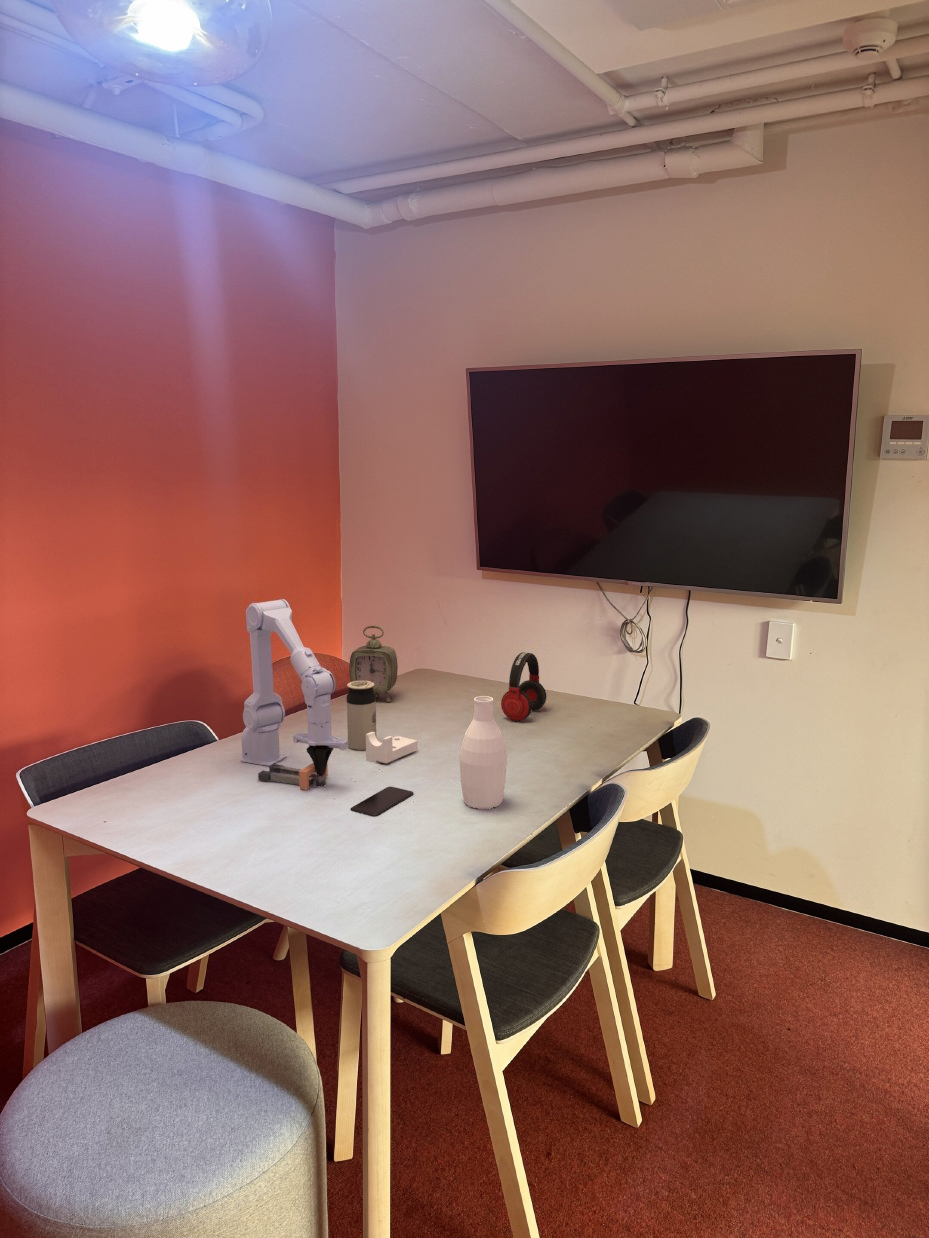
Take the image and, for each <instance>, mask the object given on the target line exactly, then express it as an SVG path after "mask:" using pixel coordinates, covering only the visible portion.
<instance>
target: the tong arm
mask: <svg viewBox="0 0 929 1238" xmlns="http://www.w3.org/2000/svg"><path fill="white" fill-rule="evenodd" d="M257 779H258V781H264V782H276V783H285V784H292V785H296V786H300V784H299V776H297V775H290V774H282V773H275V772H270V771H268V770H261V771H259V772H258V773H257ZM314 784H315V782H314V780H313V778H311V777H309V787H312V786H313V785H314Z"/></svg>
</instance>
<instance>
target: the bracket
mask: <svg viewBox="0 0 929 1238" xmlns="http://www.w3.org/2000/svg"><path fill="white" fill-rule="evenodd" d="M418 750H419V749H418V740H416V739H412V738H407V737H404V736H400V735H396V736H394V737H393V736H391V735H389V736H386V737H384V738H382V742H380V741H379V740H378V739H377V735H376V736H375V732H370V733H368V734H366V750H365V756H366V757H365V758H366V761H367V760H368V762H371V763H374V764H377V763H379V762H380V763H383V764H388V763H391V762H393V761H396V760H397V759H399V758H402V757H404V756H407V755H409V754H411V753H414V752H415V751H418Z"/></svg>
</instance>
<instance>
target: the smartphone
mask: <svg viewBox="0 0 929 1238" xmlns="http://www.w3.org/2000/svg"><path fill="white" fill-rule="evenodd" d="M412 796H414V791H411V790H409V789H404V788H400V787H395V786H391V785H390V786H386V787H385V788H383V789H380V790H379V791H378V792H376V793H374V794H372V795H371V796H369V797H367V798H366V799H363V800H362V801H361V802H358V803H357V804H355V805H353V806H351V807H350V811H351V812H354V813H357V814H363V815H365V816H369V817H373V818H376V817H379V816H381V815H383V814H384V813H386V812H388V811H389V810H391V809H393V808H394V807H396V806H398V805H399V804H401V803H403V802H404V801H406V800H408V799H410V798H412Z"/></svg>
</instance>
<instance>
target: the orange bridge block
mask: <svg viewBox="0 0 929 1238" xmlns="http://www.w3.org/2000/svg"><path fill="white" fill-rule="evenodd" d="M328 765H329V764H327V767H326V772H325V774H326V778H328V777H329V769H328ZM315 772H316V769H315V766H314V763H313V762H312V763H310V764H309V765H307V766H305V767H303V768H302V770H300V771H299V784H300V785H299V789H300V790H305V791H307V790H309V788H310V786H309V776H311V775H312V774H314V773H315Z"/></svg>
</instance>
